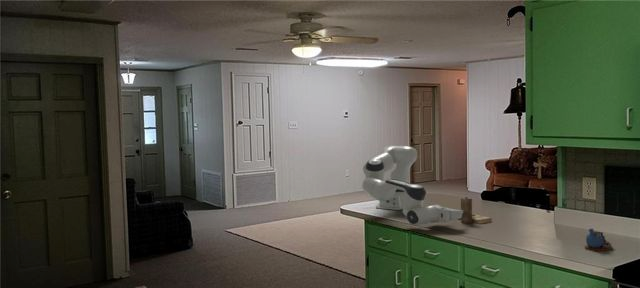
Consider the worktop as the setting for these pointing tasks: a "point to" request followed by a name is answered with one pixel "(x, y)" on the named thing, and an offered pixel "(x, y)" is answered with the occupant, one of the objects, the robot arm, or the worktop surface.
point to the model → (597, 242)
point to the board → (480, 219)
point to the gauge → (466, 210)
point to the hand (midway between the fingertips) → (455, 210)
